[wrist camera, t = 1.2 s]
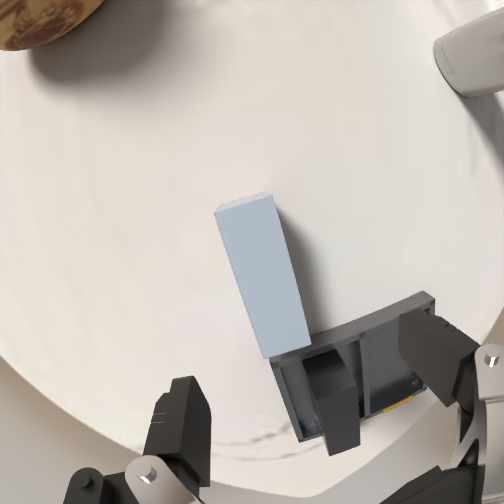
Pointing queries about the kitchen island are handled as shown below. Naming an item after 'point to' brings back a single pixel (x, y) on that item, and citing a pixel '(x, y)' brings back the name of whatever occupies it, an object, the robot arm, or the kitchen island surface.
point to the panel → (263, 272)
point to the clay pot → (40, 21)
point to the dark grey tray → (348, 376)
